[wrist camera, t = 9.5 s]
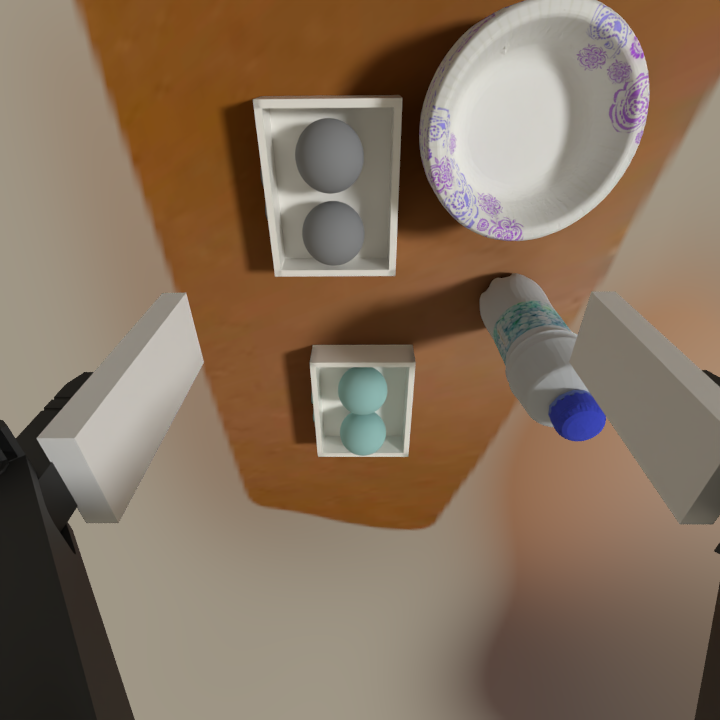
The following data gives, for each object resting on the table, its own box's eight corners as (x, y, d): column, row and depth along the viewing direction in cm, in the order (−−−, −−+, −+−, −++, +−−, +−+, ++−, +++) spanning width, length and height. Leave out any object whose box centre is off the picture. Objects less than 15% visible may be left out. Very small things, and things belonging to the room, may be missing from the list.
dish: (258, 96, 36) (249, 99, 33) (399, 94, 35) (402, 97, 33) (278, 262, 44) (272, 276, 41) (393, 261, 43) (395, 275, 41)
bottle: (466, 321, 47) (521, 460, 31) (483, 262, 43) (556, 385, 27) (526, 327, 48) (612, 468, 31) (548, 270, 44) (660, 396, 27)
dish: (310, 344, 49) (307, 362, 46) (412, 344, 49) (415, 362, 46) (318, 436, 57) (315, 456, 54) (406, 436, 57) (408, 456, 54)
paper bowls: (642, 87, 35) (705, 93, 29) (510, 244, 42) (537, 277, 36) (498, -47, 31) (535, -77, 24) (379, 154, 38) (382, 173, 31)
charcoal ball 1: (297, 115, 36) (286, 121, 31) (364, 114, 36) (363, 121, 31) (302, 185, 39) (293, 201, 34) (364, 185, 39) (363, 200, 34)
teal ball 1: (338, 355, 49) (335, 385, 45) (386, 355, 49) (389, 385, 45) (339, 393, 52) (337, 425, 48) (385, 393, 52) (387, 425, 48)
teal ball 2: (340, 399, 53) (337, 431, 48) (385, 399, 53) (387, 431, 48) (341, 432, 56) (339, 465, 51) (384, 432, 56) (386, 465, 51)
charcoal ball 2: (303, 193, 39) (295, 211, 35) (364, 193, 39) (364, 210, 35) (308, 252, 42) (301, 275, 38) (364, 252, 42) (364, 275, 38)
